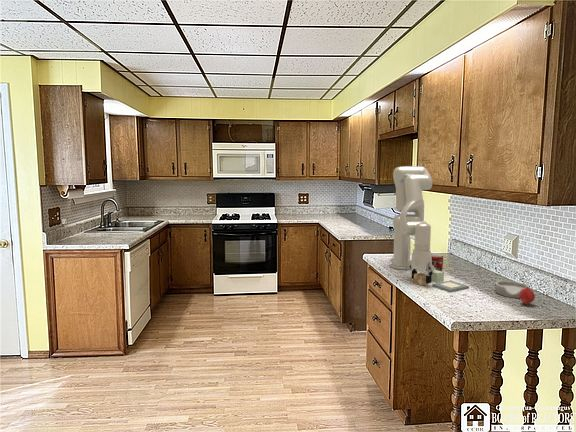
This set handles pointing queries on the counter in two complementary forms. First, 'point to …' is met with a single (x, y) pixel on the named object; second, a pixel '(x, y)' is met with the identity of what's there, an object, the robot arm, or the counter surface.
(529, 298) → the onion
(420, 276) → the oak block
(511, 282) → the dish
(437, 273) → the sage block
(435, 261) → the canned food
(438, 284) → the build board
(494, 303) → the counter surface
